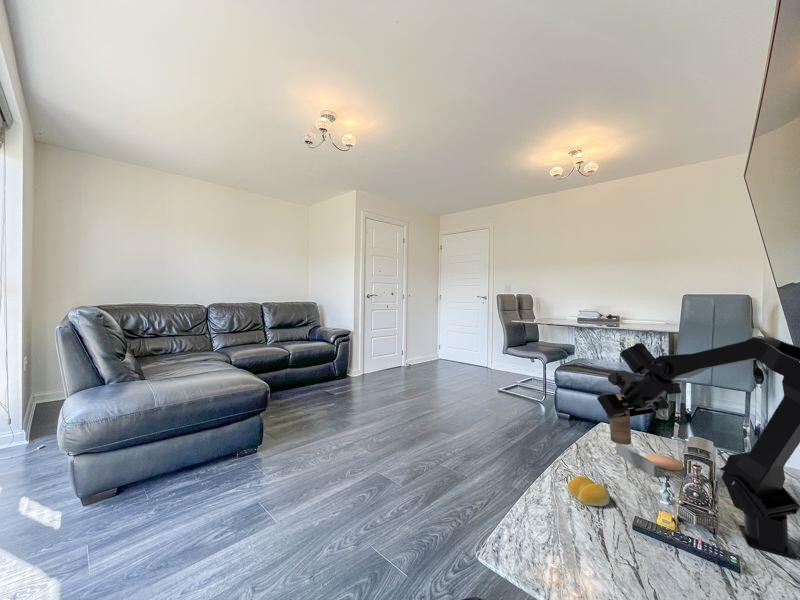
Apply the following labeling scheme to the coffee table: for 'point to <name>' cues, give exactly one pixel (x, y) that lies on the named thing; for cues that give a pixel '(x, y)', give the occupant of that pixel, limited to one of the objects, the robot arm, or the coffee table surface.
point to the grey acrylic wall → (637, 460)
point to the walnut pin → (621, 428)
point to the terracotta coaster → (665, 462)
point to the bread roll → (588, 491)
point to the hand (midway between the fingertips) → (615, 416)
